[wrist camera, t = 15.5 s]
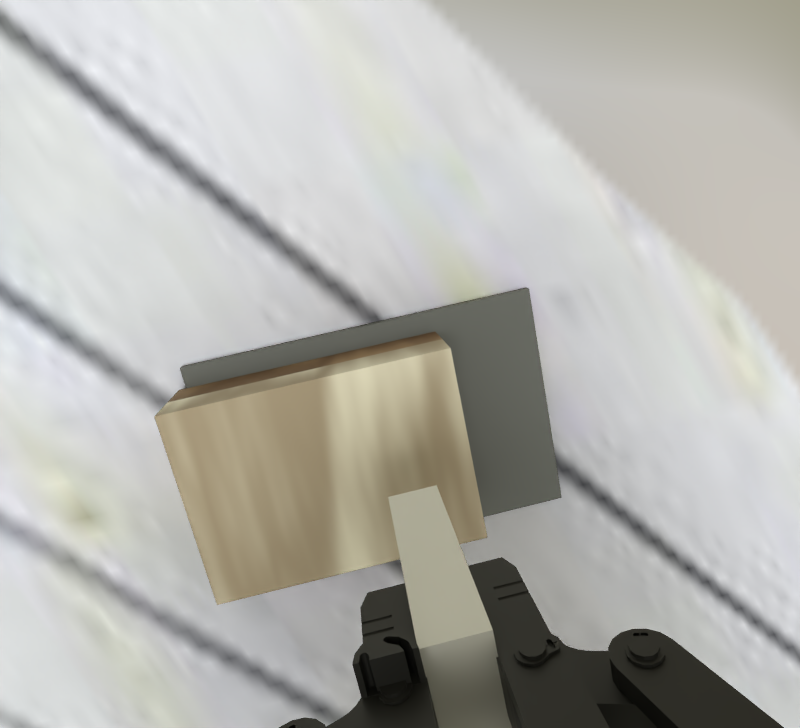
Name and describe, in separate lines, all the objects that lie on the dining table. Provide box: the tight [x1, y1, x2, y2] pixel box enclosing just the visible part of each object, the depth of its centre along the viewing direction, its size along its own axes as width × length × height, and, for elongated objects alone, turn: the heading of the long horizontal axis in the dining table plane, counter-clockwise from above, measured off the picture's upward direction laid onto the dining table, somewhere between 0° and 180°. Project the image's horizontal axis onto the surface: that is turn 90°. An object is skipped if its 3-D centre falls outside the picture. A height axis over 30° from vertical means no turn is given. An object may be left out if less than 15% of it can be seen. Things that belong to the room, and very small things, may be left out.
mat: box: [180, 288, 561, 517], centre depth 26 cm, size 15×10×1 cm, turn 102°
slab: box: [155, 331, 487, 605], centre depth 24 cm, size 4×8×11 cm
